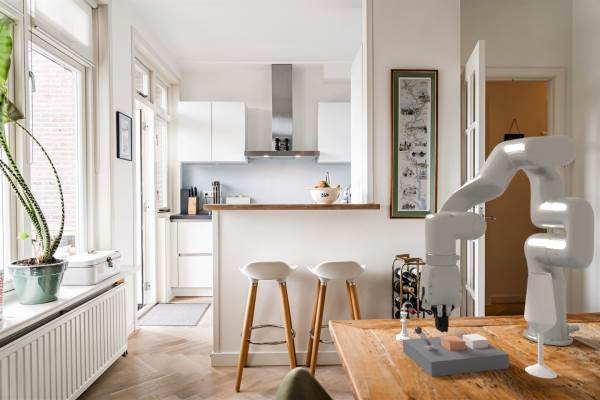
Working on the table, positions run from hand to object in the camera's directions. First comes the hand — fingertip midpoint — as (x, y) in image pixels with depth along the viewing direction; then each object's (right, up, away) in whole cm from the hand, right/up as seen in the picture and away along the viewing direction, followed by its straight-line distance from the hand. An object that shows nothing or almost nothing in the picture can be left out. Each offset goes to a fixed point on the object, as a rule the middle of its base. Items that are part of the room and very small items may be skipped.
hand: (441, 330), depth 101 cm
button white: (+10, -5, +2) cm, 11 cm away
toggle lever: (-3, -4, -1) cm, 5 cm away
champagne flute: (+21, -8, -7) cm, 24 cm away
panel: (+3, -8, 0) cm, 9 cm away
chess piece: (-5, -8, +16) cm, 19 cm away
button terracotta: (+3, -5, +1) cm, 6 cm away
